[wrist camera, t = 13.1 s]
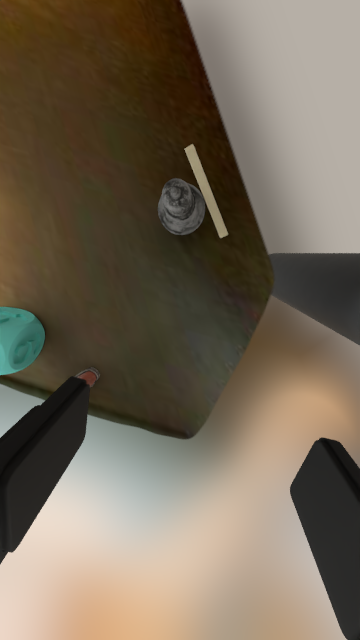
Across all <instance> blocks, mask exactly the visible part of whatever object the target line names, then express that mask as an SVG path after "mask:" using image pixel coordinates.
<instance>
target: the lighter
mask: <svg viewBox="0 0 360 640" xmlns="http://www.w3.org/2000/svg"><path fill="white" fill-rule="evenodd" d="M75 377H77V378H81V379H85V380H86V381H87V384H89V385H90V388H91V387H92V386H93V385H94V383H95V382H96V381H97V380H98V378H99V377H100V374H99V372H98V370H96V369H95V368H92V367H91V368H88V369H86V370H84V371H82V372H80V373H79V374H77V375H76V376H75Z"/></svg>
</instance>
